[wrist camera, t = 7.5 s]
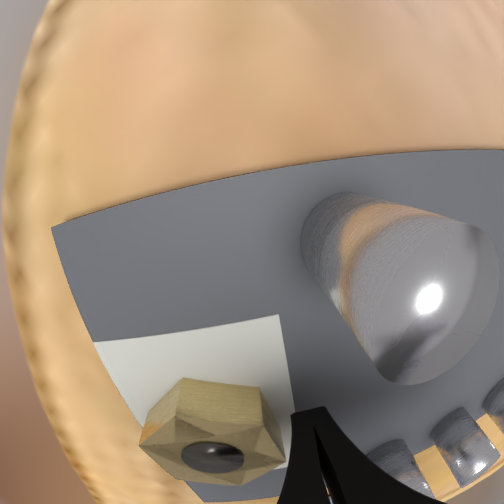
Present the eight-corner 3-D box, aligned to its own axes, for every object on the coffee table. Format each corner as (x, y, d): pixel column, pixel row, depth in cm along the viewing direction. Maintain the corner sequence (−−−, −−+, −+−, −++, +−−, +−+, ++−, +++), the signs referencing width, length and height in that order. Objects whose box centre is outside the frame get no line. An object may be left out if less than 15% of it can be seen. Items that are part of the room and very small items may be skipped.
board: (520, 376, 14) (526, 382, 13) (204, 491, 14) (204, 502, 13) (556, 153, 9) (566, 154, 8) (65, 222, 9) (50, 227, 8)
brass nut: (245, 360, 10) (248, 401, 8) (288, 442, 11) (295, 475, 9) (130, 388, 10) (115, 424, 8) (194, 460, 11) (191, 492, 9)
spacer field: (508, 391, 13) (539, 425, 8) (322, 482, 13) (337, 543, 8) (552, 169, 8) (612, 182, 3) (292, 200, 8) (368, 243, 3)
